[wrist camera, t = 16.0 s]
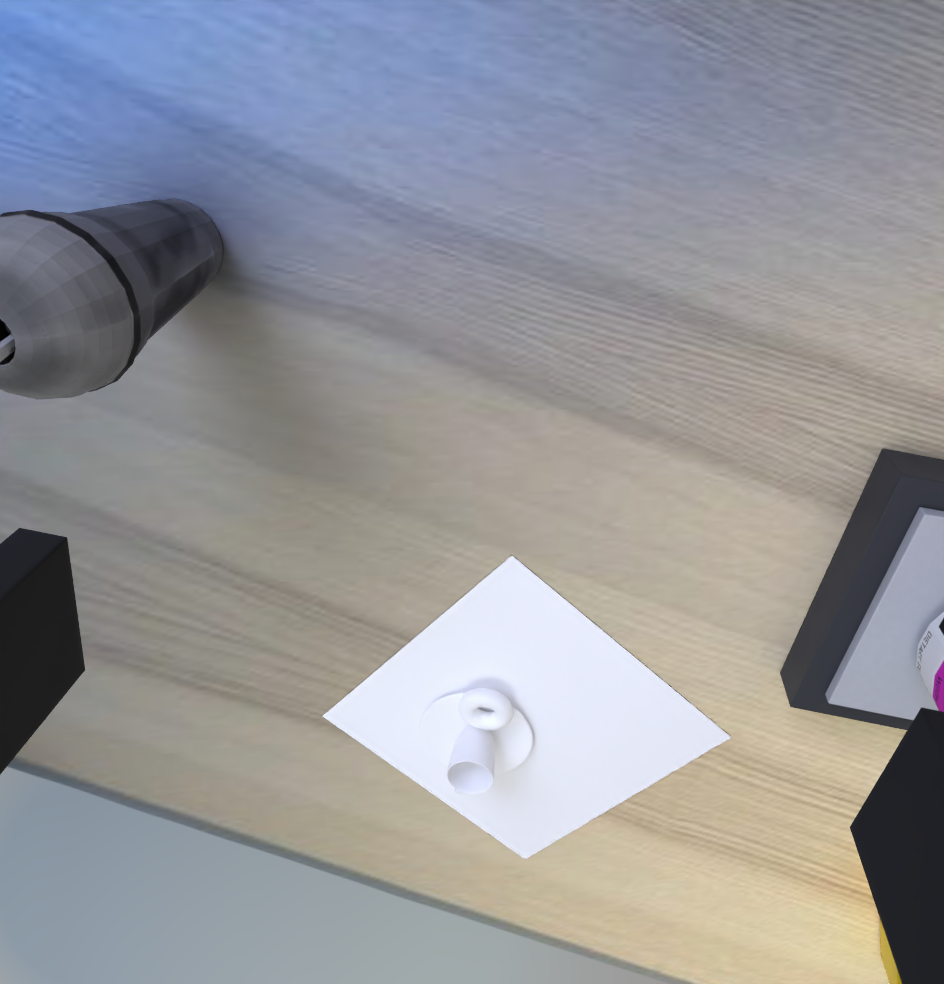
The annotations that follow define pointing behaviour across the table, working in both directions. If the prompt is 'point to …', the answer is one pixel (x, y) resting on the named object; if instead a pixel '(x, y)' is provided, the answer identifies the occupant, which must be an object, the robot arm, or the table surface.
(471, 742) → the teacup and saucer
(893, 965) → the element tile
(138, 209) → the beverage cup
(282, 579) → the table surface
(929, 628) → the white drink can
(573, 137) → the table surface
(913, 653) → the scale
